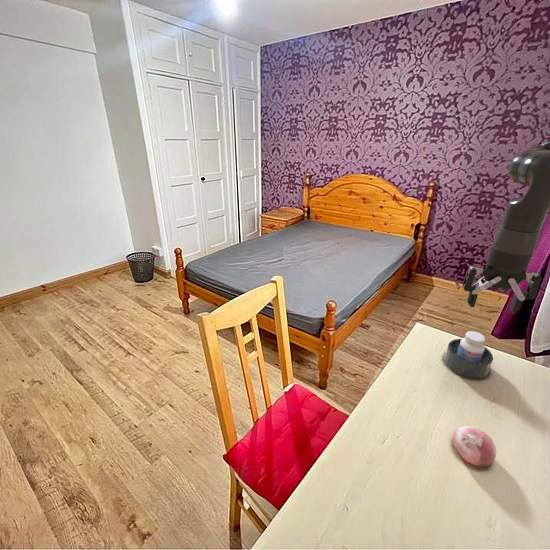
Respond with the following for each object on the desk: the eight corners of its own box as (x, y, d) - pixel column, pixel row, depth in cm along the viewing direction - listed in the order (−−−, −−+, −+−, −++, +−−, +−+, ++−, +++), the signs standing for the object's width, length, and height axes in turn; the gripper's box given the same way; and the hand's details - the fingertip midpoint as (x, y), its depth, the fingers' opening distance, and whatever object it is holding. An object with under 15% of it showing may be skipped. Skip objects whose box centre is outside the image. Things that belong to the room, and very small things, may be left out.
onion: (442, 449, 69) (450, 428, 66) (461, 431, 73) (469, 410, 69) (480, 480, 63) (490, 458, 60) (498, 459, 67) (509, 437, 63)
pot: (450, 349, 98) (455, 334, 95) (491, 366, 91) (497, 350, 88) (438, 367, 91) (442, 352, 88) (480, 387, 84) (487, 371, 81)
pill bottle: (456, 371, 89) (466, 341, 84) (451, 357, 94) (460, 328, 89) (479, 375, 88) (491, 344, 82) (473, 360, 93) (483, 330, 88)
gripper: (545, 244, 68) (520, 305, 76) (472, 238, 73) (455, 296, 80) (559, 257, 62) (531, 322, 69) (479, 249, 66) (460, 311, 74)
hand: (491, 308), depth 75 cm, fingers open, 8 cm apart
